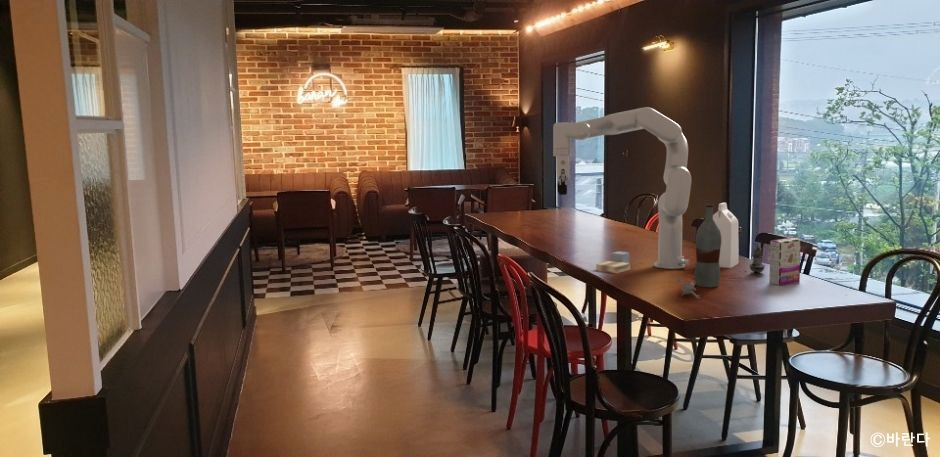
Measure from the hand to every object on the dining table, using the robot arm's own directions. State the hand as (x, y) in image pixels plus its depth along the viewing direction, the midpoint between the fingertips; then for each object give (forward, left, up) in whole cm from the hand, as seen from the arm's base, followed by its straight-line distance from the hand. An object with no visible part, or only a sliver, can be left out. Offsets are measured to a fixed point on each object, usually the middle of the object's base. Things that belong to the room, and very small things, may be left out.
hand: (562, 193), depth 301 cm
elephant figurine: (-65, +16, -32) cm, 74 cm away
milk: (-48, -47, -31) cm, 74 cm away
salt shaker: (-68, -36, -31) cm, 83 cm away
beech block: (-20, -8, -32) cm, 38 cm away
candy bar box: (-82, -27, -31) cm, 92 cm away
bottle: (-62, -6, -31) cm, 70 cm away
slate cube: (-17, -18, -31) cm, 40 cm away
